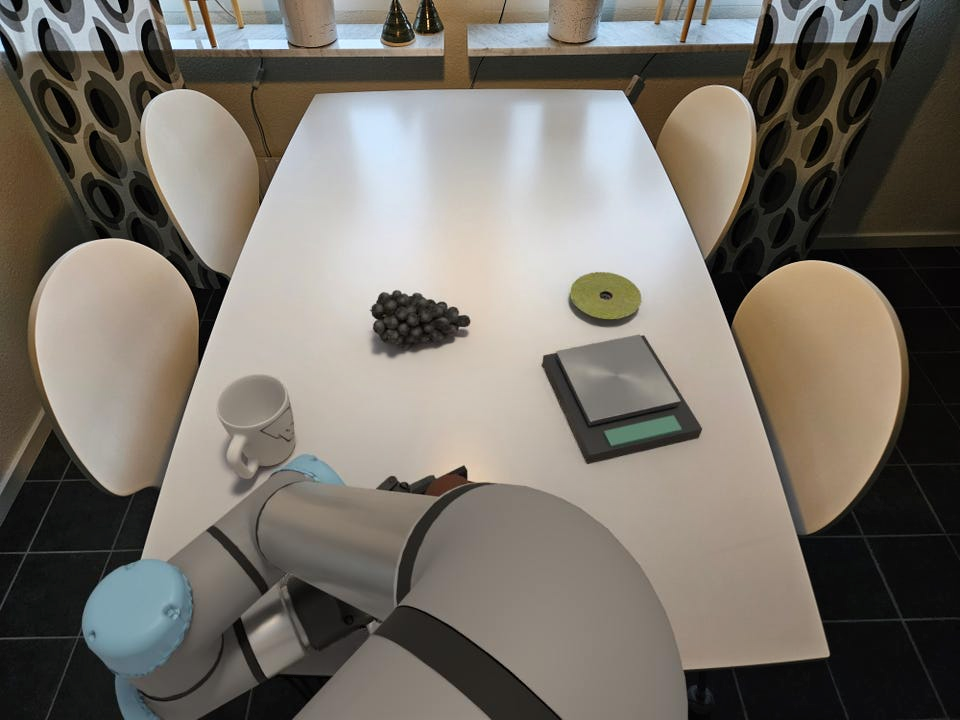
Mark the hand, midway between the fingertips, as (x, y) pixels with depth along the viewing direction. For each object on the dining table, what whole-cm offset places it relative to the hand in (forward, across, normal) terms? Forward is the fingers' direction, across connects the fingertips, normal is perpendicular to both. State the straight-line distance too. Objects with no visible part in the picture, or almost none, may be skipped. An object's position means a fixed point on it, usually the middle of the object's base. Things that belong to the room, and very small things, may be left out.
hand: (492, 514), depth 70 cm
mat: (+38, -27, -8) cm, 47 cm away
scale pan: (+27, -12, -6) cm, 30 cm away
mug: (-19, -26, -8) cm, 33 cm away
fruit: (+9, -35, -8) cm, 37 cm away
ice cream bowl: (-4, 0, -8) cm, 9 cm away
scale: (+27, -10, -8) cm, 30 cm away
